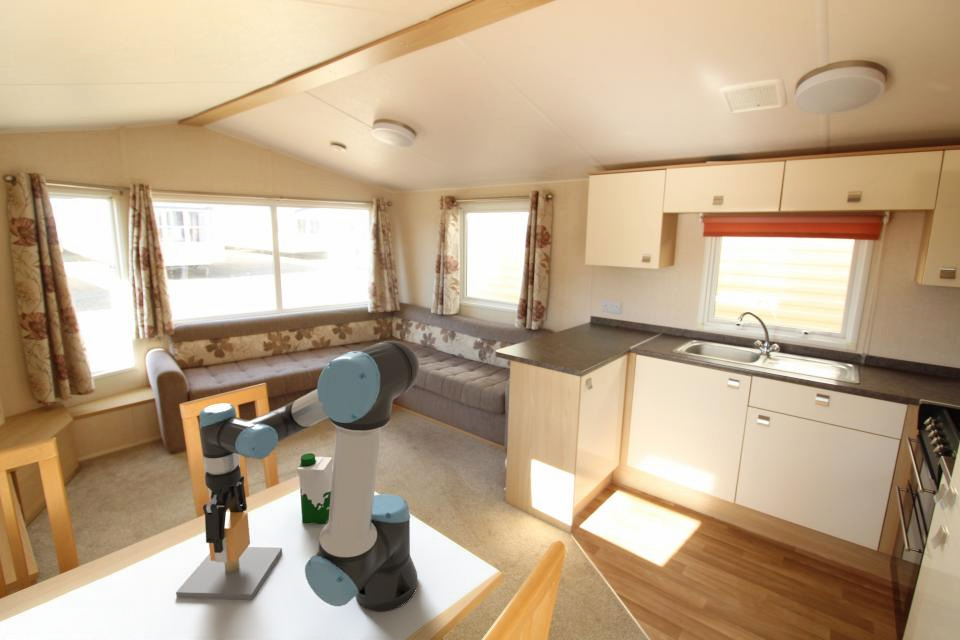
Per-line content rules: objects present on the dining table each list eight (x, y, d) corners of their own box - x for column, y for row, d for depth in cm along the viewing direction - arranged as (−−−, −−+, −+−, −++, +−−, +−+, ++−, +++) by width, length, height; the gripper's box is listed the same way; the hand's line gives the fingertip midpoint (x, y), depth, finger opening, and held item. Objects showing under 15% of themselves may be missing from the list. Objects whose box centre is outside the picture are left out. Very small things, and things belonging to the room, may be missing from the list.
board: (282, 552, 122) (280, 526, 120) (251, 599, 106) (249, 570, 105) (216, 551, 122) (213, 524, 120) (176, 597, 106) (172, 568, 105)
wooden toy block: (250, 543, 116) (247, 512, 114) (236, 561, 110) (233, 528, 108) (225, 542, 116) (222, 511, 114) (210, 560, 110) (207, 527, 108)
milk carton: (309, 507, 142) (305, 449, 138) (337, 508, 142) (335, 450, 138) (297, 525, 133) (293, 463, 129) (328, 526, 133) (324, 464, 129)
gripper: (229, 448, 118) (236, 526, 122) (180, 489, 99) (190, 579, 103) (257, 448, 118) (263, 526, 122) (213, 490, 99) (222, 580, 103)
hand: (230, 551), depth 113 cm, fingers closed on wooden toy block, 6 cm apart
